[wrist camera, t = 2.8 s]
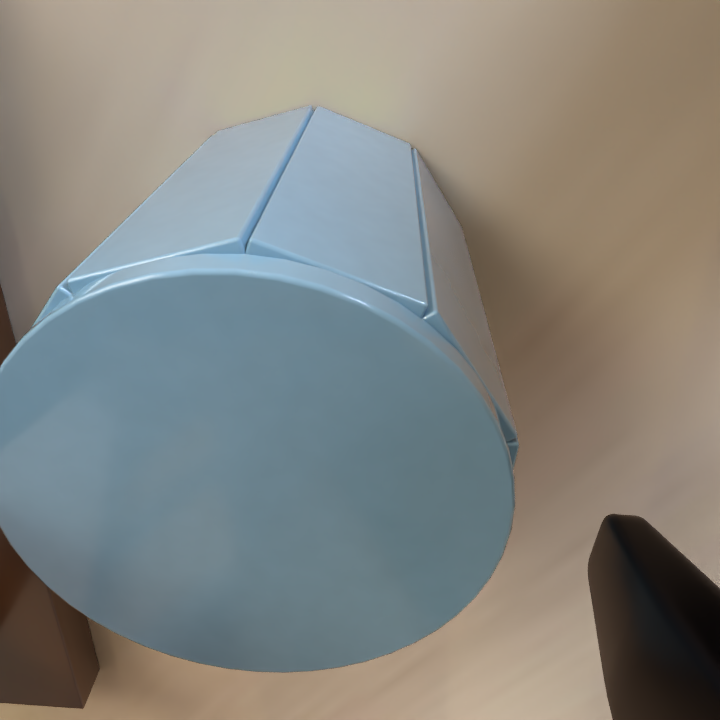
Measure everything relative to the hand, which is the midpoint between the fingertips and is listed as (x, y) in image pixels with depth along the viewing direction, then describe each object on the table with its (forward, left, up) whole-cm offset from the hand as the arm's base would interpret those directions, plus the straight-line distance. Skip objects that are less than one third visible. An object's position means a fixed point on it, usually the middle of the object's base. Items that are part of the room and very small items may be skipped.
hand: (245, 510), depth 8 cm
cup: (0, 0, -8) cm, 8 cm away
